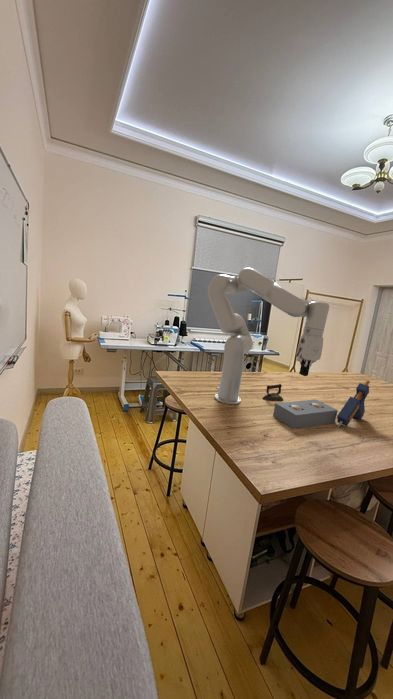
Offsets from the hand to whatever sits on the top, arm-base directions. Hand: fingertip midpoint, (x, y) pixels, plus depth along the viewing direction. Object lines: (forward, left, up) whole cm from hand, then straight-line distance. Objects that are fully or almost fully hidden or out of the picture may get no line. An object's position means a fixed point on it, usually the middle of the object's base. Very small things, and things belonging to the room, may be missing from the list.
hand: (303, 374), depth 121 cm
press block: (0, +7, -21) cm, 22 cm away
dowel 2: (0, +13, -21) cm, 24 cm away
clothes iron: (-23, +8, -21) cm, 33 cm away
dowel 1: (0, 0, -19) cm, 19 cm away
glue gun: (+7, +29, -21) cm, 36 cm away
